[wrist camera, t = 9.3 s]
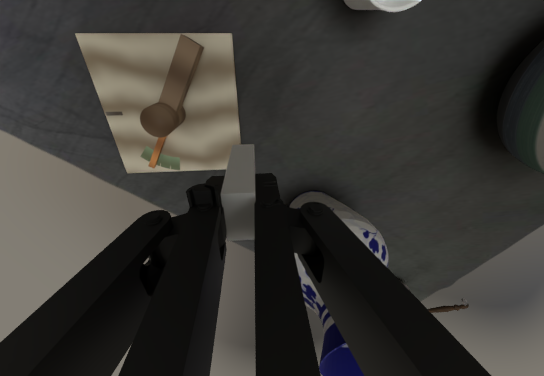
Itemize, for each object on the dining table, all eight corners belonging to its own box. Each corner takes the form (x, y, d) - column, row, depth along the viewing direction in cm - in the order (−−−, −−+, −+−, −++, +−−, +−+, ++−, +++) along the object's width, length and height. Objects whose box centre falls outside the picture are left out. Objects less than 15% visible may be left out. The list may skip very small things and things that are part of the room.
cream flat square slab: (80, 34, 32) (74, 33, 31) (232, 34, 33) (231, 33, 32) (130, 170, 43) (127, 173, 42) (242, 166, 44) (242, 168, 43)
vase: (268, 240, 55) (282, 399, 29) (273, 172, 46) (301, 317, 20) (340, 240, 57) (414, 389, 31) (360, 175, 48) (488, 310, 22)
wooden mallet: (164, 170, 42) (150, 188, 36) (140, 160, 41) (121, 176, 35) (211, 51, 33) (202, 49, 27) (182, 33, 32) (166, 26, 26)
